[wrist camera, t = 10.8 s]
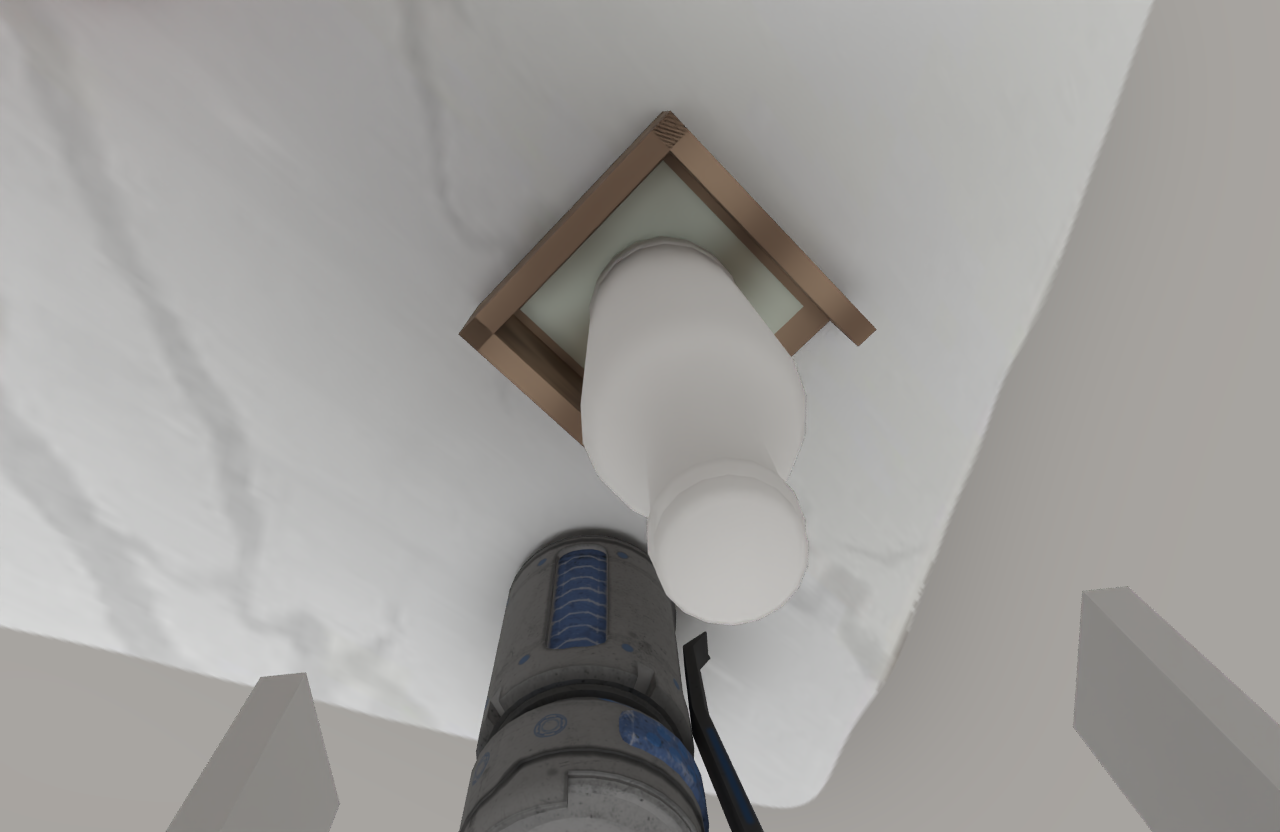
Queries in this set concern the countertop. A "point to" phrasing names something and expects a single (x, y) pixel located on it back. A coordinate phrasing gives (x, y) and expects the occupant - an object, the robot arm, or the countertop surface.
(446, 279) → the countertop surface
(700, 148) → the wooden stand
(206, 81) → the countertop surface
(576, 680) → the beverage bottle
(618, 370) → the bottle
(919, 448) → the countertop surface
